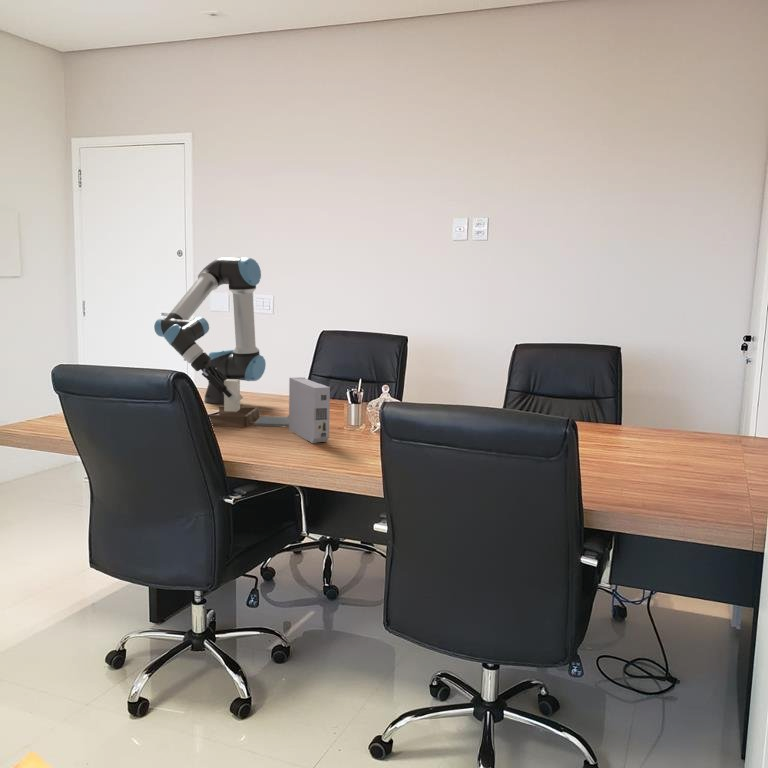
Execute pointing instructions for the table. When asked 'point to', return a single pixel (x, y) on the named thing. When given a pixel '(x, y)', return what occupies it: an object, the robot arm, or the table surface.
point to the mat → (272, 421)
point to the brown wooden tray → (235, 417)
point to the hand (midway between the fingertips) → (238, 400)
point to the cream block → (235, 388)
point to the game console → (309, 409)
